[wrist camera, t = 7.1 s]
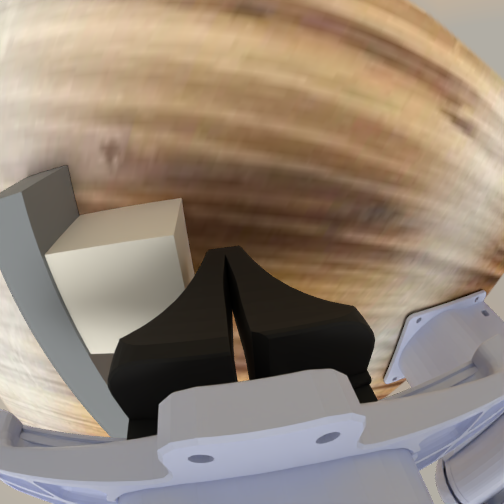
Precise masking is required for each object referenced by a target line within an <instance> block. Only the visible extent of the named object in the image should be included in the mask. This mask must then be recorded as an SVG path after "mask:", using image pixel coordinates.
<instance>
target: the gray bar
mask: <svg viewBox="0 0 504 504" xmlns="http://www.w3.org/2000/svg"><path fill="white" fill-rule="evenodd" d="M78 217H79V213H78V209H77V205H76V201H75V197H74V193H73V188H72V184H71V180H70V175H69V170H68V165H66V166H62V167H59V168H55V169H52V170H48V171H45V172H42V173H39V174H36V175H32V176H29V177H27V178H25V179H23V180H21V181H19V182H18V183H16V184H14V185H12V186H11V187H9V188H7V189H6V190H4V191H2V192H1V193H0V270H1V272H2V275H3V277H4V279H5V281H6V283H7V286H8V288H9V290H10V292H11V294H12V296H13V298H14V300H15V302H16V304H17V306H18V308H19V310H20V312H21V314H22V315H23V317H24V319H25V321H26V323H27V324H28V326H29V328H30V330H31V331H32V333H33V335H34V337H35V338H36V340H37V341H38V343H39V345H40V346H41V348H42V349H43V351H44V353H45V354H46V356H47V357H48V359H49V360H50V362H51V363H52V365H53V366H54V368H55V369H56V370H57V372H58V373H59V375H60V376H61V378H62V379H63V380H64V382H65V383H66V384H67V386H68V387H69V388H70V390H71V391H72V392H73V394H74V395H75V396H76V397H77V399H78V400H79V401H80V402H81V404H82V405H83V406H84V407H85V408H86V410H87V411H88V412H89V413H90V414H91V416H92V417H93V418H94V419H95V420H96V421H97V422H98V424H99V425H100V426H101V427H102V428H103V429H104V430H105V431H106V432H107V433H108V434H109V435H110V437H113V438H127V431H128V422H129V418H128V417H127V416H126V414H125V413H124V412H123V410H122V409H121V408H120V406H119V405H118V403H117V402H116V401H115V399H114V398H113V396H112V395H111V393H110V391H109V388H108V380H107V379H108V375H109V371H110V366H111V362H112V358H113V355H114V353H106V354H91V353H90V352H89V350H88V348H87V346H86V345H85V343H84V341H83V339H82V337H81V335H80V333H79V332H78V330H77V328H76V326H75V324H74V322H73V320H72V318H71V316H70V314H69V312H68V310H67V307H66V305H65V303H64V301H63V299H62V297H61V294H60V292H59V290H58V288H57V285H56V283H55V281H54V278H53V276H52V273H51V271H50V268H49V266H48V263H47V261H46V258H45V254H46V252H47V251H48V250H49V249H50V248H51V247H52V245H53V244H54V243H55V242H56V241H57V240H58V239H59V237H60V236H61V235H62V234H63V233H64V232H65V231H66V230H67V228H68V227H69V226H70V225H71V224H72V223H73V222H74V221H75V220H76V219H77V218H78Z"/></svg>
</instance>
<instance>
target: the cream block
mask: <svg viewBox="0 0 504 504" xmlns="http://www.w3.org/2000/svg"><path fill="white" fill-rule="evenodd" d="M45 258H46V261H47V263H48V266H49V268H50V271H51V273H52V276H53V278H54V281H55V283H56V285H57V288H58V290H59V292H60V294H61V297H62V299H63V301H64V303H65V305H66V307H67V310H68V312H69V314H70V316H71V318H72V320H73V322H74V324H75V326H76V328H77V330H78V332H79V333H80V335H81V337H82V339H83V341H84V343H85V345H86V346H87V348H88V350H89V352H90V353H91V354H106V353H114V352H115V349H116V347H117V344H118V342H119V339H120V338H122V337H124V336H126V335H128V334H130V333H131V332H133V331H135V330H137V329H139V328H140V327H142V326H144V325H145V324H147V323H148V322H150V321H151V320H152V319H154V318H155V317H157V316H158V315H159V314H160V313H162V312H163V311H164V310H165V309H166V308H167V307H169V306H170V305H171V304H172V303H173V302H174V301H175V300H176V299H177V298H178V297H179V296H180V295H181V294H182V292H183V291H184V290H185V289H186V287H187V286H188V284H189V283H190V282H191V280H192V279H193V277H194V276H195V274H194V269H193V263H192V258H191V252H190V247H189V241H188V235H187V229H186V223H185V217H184V211H183V205H182V198H178V199H171V200H164V201H157V202H151V203H145V204H139V205H133V206H127V207H121V208H115V209H110V210H104V211H99V212H94V213H89V214H84V215H80V216H79V217H78V218H77V219H76V220H75V221H74V222H73V223H72V224H71V225H70V226H69V227H68V228H67V230H66V231H65V232H64V233H63V234H62V235H61V236H60V237H59V239H58V240H57V241H56V242H55V243H54V244H53V245H52V247H51V248H50V249H49V250H48V251H47V252H46V254H45Z"/></svg>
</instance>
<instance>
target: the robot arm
mask: <svg viewBox="0 0 504 504" xmlns="http://www.w3.org/2000/svg"><path fill="white" fill-rule="evenodd" d="M485 296H486V292H485V291H484V290H481V291H479V292H476V293H473V294H471V295H468V296H465V297H462V298H460V299H457V300H454V301H451V302H448V303H445V304H442V305H439V306H436V307H433V308H430V309H427V310H423V311H420V312H417V313H414V314H411V315H410V316H409V317H408V318H407V320H406V322H405V325H404V328H403V331H402V334H401V337H400V340H399V342H398V345H397V348H396V350H395V353H394V355H393V358H392V361H391V363H390V366H389V368H388V370H387V373H386V375H385V378H384V382H385V384H389V383H392V382H395V381H397V380H400V379H403V378H406V379H407V381H408V383H409V384H410V386H411V388H410V389H407V390H405V391H402V392H400V393H397V394H394V395H392V396H389V397H386V398H383V399H381V400H377V398H376V396H375V394H374V392H373V390H372V388H371V386H370V383H371V377H370V375H369V373H368V371H367V367H368V364H369V361H370V358H371V355H372V352H373V349H374V343H375V337H374V333H373V331H372V330H371V328H370V326H369V325H368V323H367V322H366V320H365V319H364V318H363V316H362V315H361V314H360V313H359V311H358V310H357V309H356V308H355V307H354V306H350V305H345V304H340V303H335V302H330V301H327V300H323V299H320V298H317V297H314V296H311V295H308V294H305V293H303V292H301V291H299V290H296V289H294V288H292V287H290V286H288V285H286V284H284V283H283V282H281V281H279V280H278V279H276V278H274V277H273V276H271V275H270V274H269V273H267V272H266V271H265V270H264V269H263V268H261V267H260V266H259V265H258V264H257V263H256V262H255V261H254V260H253V259H252V258H251V257H250V256H249V255H248V254H247V253H246V252H245V251H244V250H243V249H242V248H241V247H240V246H233V247H225V248H217V249H209V250H208V251H207V253H206V255H205V258H204V260H203V262H202V264H201V266H200V267H199V269H198V271H197V272H196V274H195V276H194V277H193V279H192V280H191V282H190V283H189V284H188V286H187V287H186V289H185V290H184V291H183V292H182V294H181V295H180V296H179V297H178V298H177V299H176V300H175V301H174V302H173V303H172V304H171V305H170V306H169V307H167V308H166V309H165V310H164V311H163V312H162V313H160V314H159V315H158V316H157V317H155V318H154V319H152V320H151V321H150V322H148V323H147V324H145V325H144V326H142V327H140V328H139V329H137V330H135V331H133V332H131V333H130V334H128V335H126V336H124V337H122V338H120V339H119V342H118V344H117V347H116V349H115V352H114V355H113V358H112V362H111V366H110V371H109V375H108V379H107V380H108V388H109V391H110V393H111V395H112V396H113V398H114V399H115V401H116V402H117V403H118V405H119V406H120V408H121V409H122V410H123V412H124V413H125V414H126V416H127V417H128V418H129V422H128V431H127V438H113V437H99V436H89V435H79V434H72V433H64V432H58V431H52V430H46V429H41V428H35V427H31V426H26V425H22V423H21V422H20V421H19V419H18V418H17V417H16V416H14V415H13V414H12V413H10V412H8V411H6V410H2V409H0V480H1V481H3V482H4V483H6V484H7V485H9V486H10V487H12V488H14V489H15V490H18V491H20V492H23V493H25V494H28V495H31V496H33V497H36V498H39V499H41V500H44V501H47V502H50V503H53V504H434V503H433V500H432V498H431V496H430V494H429V492H428V489H427V487H426V485H425V483H424V481H423V479H422V476H421V474H420V472H419V470H421V469H423V468H425V467H426V466H428V465H430V464H432V463H433V462H435V461H437V460H438V462H437V466H436V474H435V479H436V486H437V489H438V492H439V494H440V497H441V499H442V500H443V502H444V503H445V504H504V322H503V320H502V319H501V318H500V317H499V316H498V315H497V314H496V313H495V312H494V311H493V310H492V309H491V308H490V307H489V306H488V305H487V304H486V303H485V302H484V299H485ZM232 311H233V314H234V318H235V322H236V325H237V329H238V332H239V336H240V339H241V343H242V346H243V350H244V354H245V358H246V363H247V369H248V374H249V380H248V381H241V382H238V381H237V374H236V368H235V361H234V349H233V321H232Z"/></svg>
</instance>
